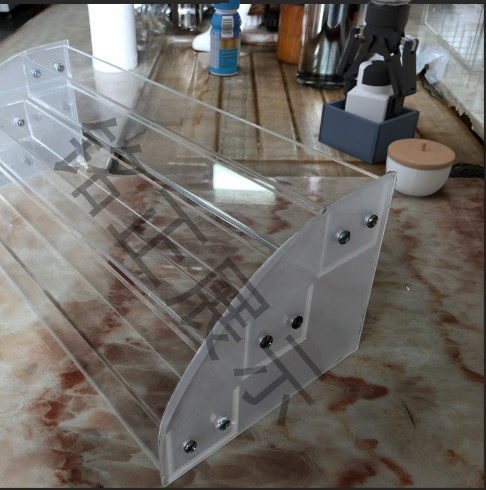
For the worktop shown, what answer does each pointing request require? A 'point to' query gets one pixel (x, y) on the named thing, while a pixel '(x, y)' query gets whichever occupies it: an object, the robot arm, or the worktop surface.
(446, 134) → the worktop surface
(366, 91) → the container
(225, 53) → the beverage bottle
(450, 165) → the trinket box
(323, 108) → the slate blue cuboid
